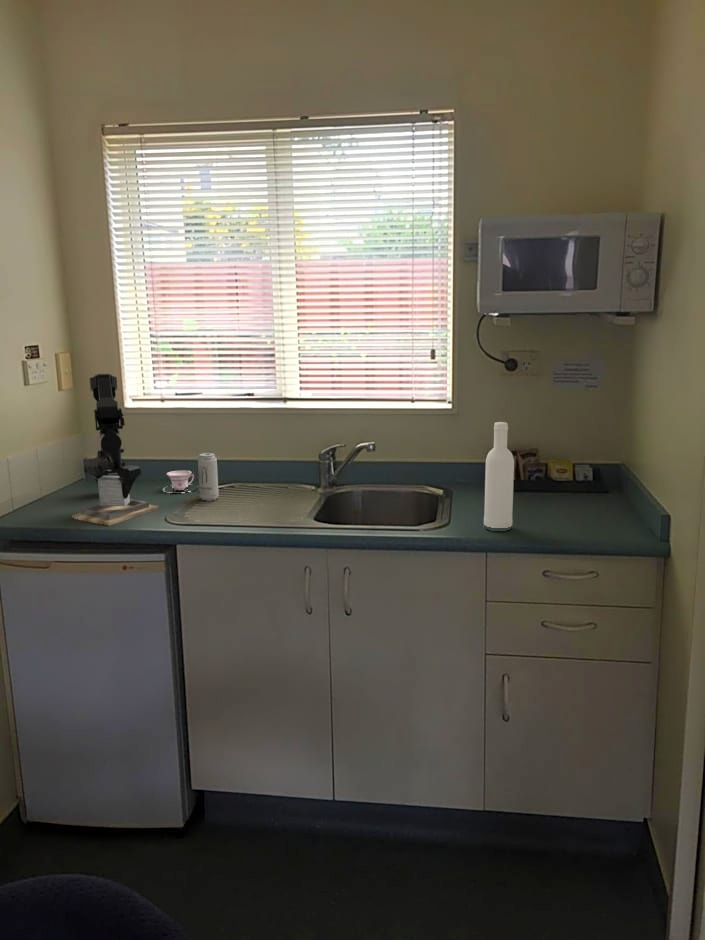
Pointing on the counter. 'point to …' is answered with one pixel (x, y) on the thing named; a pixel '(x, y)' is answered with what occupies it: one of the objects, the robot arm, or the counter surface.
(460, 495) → the counter surface
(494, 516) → the bottle
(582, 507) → the counter surface
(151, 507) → the holder
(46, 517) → the counter surface
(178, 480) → the teacup
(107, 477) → the medicine box
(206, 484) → the energy drink can
